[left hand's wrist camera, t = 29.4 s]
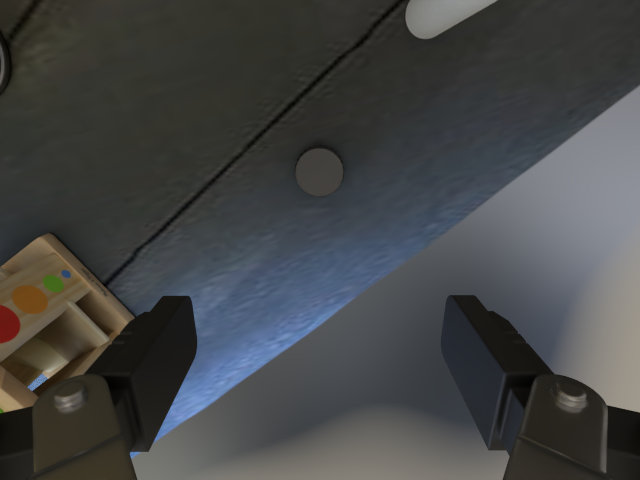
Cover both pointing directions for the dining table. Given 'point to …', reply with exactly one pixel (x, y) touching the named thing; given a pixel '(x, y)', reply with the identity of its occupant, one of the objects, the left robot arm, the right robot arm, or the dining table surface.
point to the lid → (319, 171)
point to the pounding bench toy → (51, 320)
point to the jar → (439, 15)
